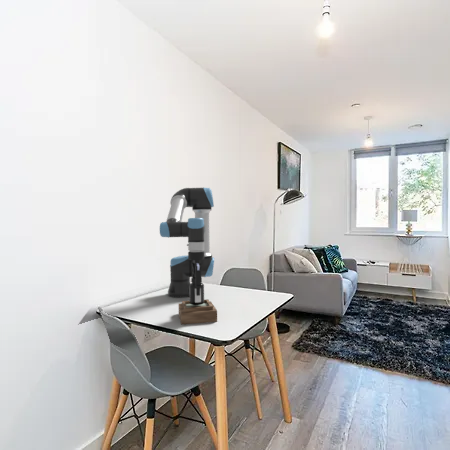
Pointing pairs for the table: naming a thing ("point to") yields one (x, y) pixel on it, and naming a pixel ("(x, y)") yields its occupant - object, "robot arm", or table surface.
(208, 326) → the table surface
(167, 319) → the table surface
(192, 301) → the supplement bottle
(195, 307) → the stand
